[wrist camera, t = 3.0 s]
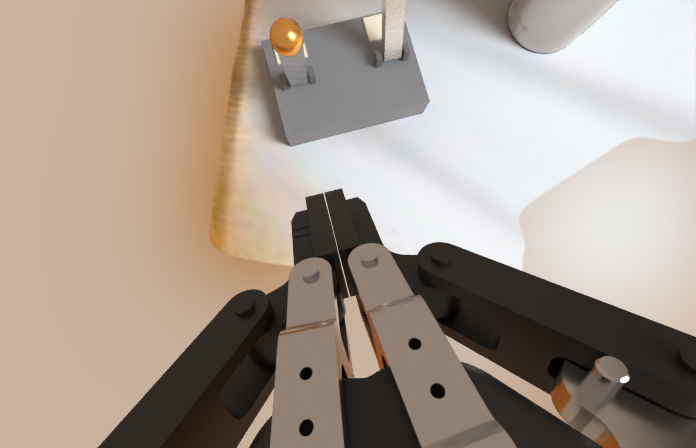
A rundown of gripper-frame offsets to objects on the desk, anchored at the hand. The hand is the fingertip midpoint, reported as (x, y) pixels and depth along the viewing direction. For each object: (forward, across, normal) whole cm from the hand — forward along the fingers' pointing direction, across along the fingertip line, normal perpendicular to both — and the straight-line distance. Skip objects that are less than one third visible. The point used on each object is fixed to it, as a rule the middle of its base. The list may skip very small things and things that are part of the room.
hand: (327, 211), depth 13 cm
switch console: (+30, -6, +3) cm, 31 cm away
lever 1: (+28, 0, +1) cm, 28 cm away
